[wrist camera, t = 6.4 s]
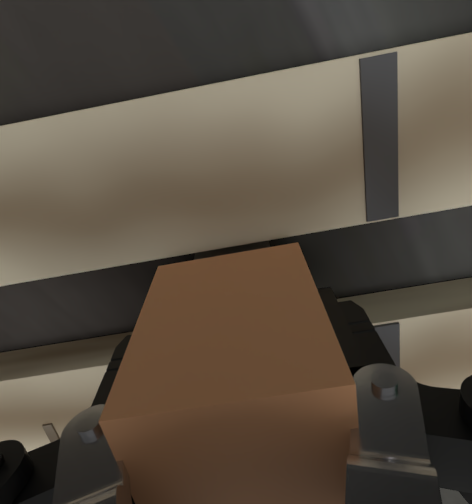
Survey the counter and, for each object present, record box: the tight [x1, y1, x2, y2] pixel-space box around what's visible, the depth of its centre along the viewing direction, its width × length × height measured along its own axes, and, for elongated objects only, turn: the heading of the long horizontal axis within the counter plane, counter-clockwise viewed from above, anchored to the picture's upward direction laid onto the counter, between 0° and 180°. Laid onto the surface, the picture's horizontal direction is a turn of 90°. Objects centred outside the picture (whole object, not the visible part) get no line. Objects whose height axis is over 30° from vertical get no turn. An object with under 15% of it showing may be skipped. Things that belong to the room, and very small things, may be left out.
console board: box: [0, 32, 472, 452], centre depth 15 cm, size 14×30×2 cm, turn 100°
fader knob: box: [99, 240, 359, 504], centre depth 11 cm, size 4×4×9 cm
